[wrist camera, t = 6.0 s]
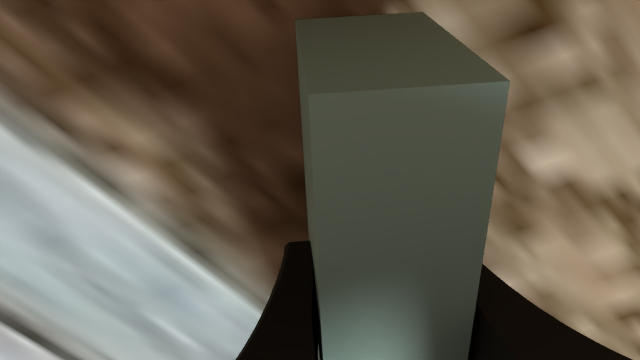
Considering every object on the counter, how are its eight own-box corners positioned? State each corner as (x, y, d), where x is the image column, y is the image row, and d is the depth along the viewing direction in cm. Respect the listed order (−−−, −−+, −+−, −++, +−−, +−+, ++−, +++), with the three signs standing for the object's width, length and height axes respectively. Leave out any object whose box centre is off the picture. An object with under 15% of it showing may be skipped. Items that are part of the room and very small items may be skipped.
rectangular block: (422, 12, 12) (510, 80, 7) (402, 363, 18) (444, 514, 13) (294, 19, 12) (308, 94, 7) (317, 371, 18) (332, 527, 13)
